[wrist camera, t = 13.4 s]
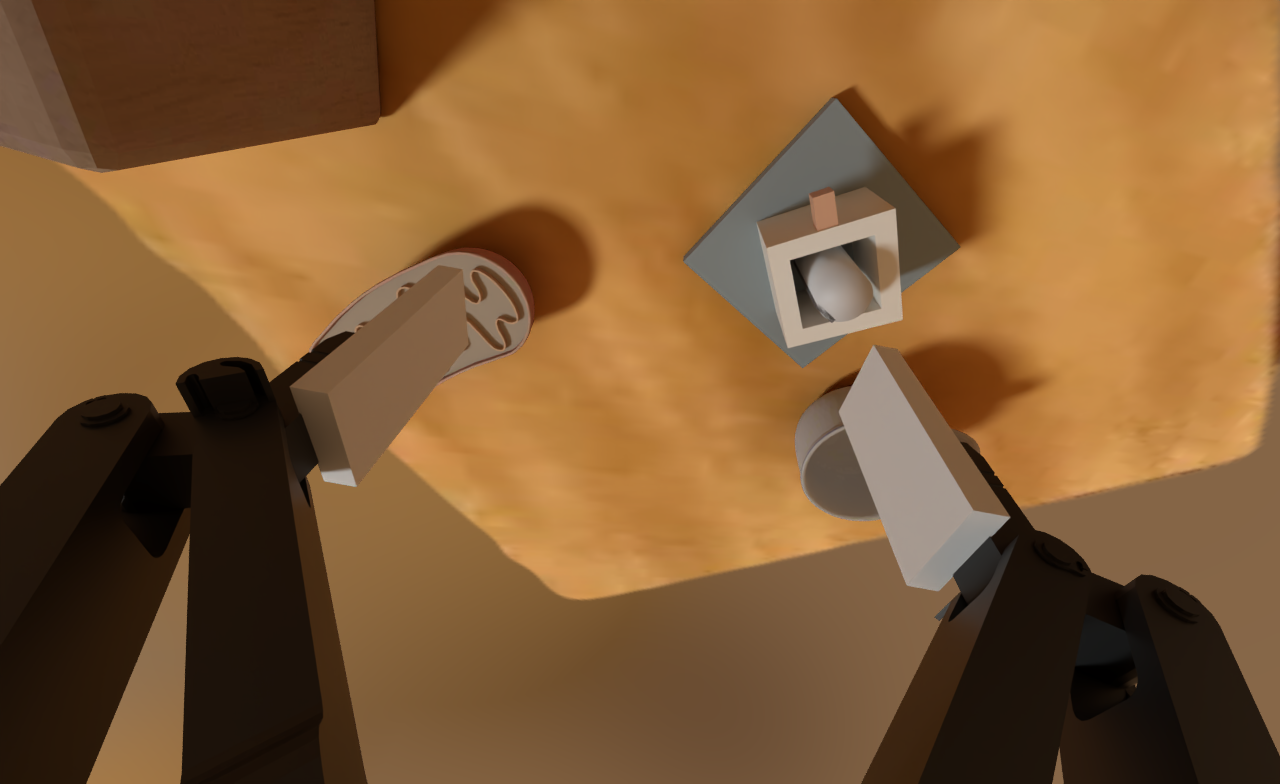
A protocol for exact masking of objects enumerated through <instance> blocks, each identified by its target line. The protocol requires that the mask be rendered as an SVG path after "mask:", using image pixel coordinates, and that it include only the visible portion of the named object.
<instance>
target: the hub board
mask: <svg viewBox="0 0 1280 784" xmlns="http://www.w3.org/2000/svg"><path fill="white" fill-rule="evenodd" d="M827 187H830V188H831V189H832V190H834V194H835V196H838V195H841V194H844V193H847V192H850V191H853V190H857V189H860V188H863V187H866V188H868V189H869V190H870V191H872V192H873V193H875V194H876V195H878V196H879V197H880V198H882V199H883V200H885V201H886V202H887V203H889V204H890V205H892V206H893V207H894V208H896V221H897V237H898V253H899V269H900V285H901V293H902V292H903V291H904V290H905V289H907V288H908V287H909V286H911V285H912V284H913V283H915V282H916V281H917V280H918V279H920V278H921V277H922V276H924V275H925V274H926V273H928V272H929V271H930V270H932V269H933V268H934V267H935V266H937V265H938V264H939V263H941V262H942V261H943V260H945V259H946V258H947V257H949V256H950V255H951V254H952V253H954V252H955V251H956V250H958V249H959V248H960V246H959V244H958V243H957V242H956V241H955V240H954V238H953V237H952V236H951V235H950V234H949V232H948V231H947V230H946V229H945V228H944V226H943V225H942V224H941V223H940V222H939V220H938V219H937V218H936V217H935V216H934V214H933V213H932V212H931V211H930V210H929V208H928V207H927V206H926V205H925V204H924V202H923V201H922V200H921V199H920V198H919V197H918V195H917V194H916V193H915V192H914V191H913V189H912V188H911V187H910V186H909V185H908V183H907V182H906V181H905V180H904V179H903V177H902V176H901V175H900V174H899V173H898V171H897V170H896V169H895V168H894V167H893V165H892V164H891V163H890V162H889V161H888V159H887V158H886V157H885V156H884V155H883V153H882V152H881V151H880V150H879V149H878V147H877V146H876V145H875V144H874V143H873V141H872V140H871V139H870V138H869V137H868V135H867V134H866V133H865V132H864V131H863V129H862V128H861V127H860V126H859V125H858V124H857V122H856V121H855V120H854V119H853V118H852V116H851V115H850V114H849V113H848V112H847V110H846V109H845V108H844V107H843V106H842V104H841V103H840V102H839V101H838V100H837V98H833V97H832V98H831V99H830V100H829V101H828V102H827V103H826V104H825V105H824V106H823V108H822V109H821V110H820V111H819V112H818V113H817V114H816V115H815V116H814V117H813V118H812V119H811V120H810V122H809V123H808V124H807V125H806V126H805V127H804V128H803V129H802V130H801V131H800V132H799V133H798V134H797V135H796V137H795V138H794V139H793V140H792V141H791V142H790V143H789V144H788V145H787V146H786V147H785V148H784V149H783V151H782V152H781V153H780V154H779V155H778V156H777V157H776V158H775V159H774V160H773V161H772V162H771V163H770V164H769V166H768V167H767V168H766V169H765V170H764V171H763V172H762V173H761V174H760V175H759V176H758V177H757V178H756V180H755V181H754V182H753V183H752V184H751V185H750V186H749V187H748V188H747V189H746V190H745V191H744V192H743V193H742V195H741V196H740V197H739V198H738V199H737V200H736V201H735V202H734V203H733V204H732V205H731V206H730V207H729V209H728V210H727V211H726V212H725V213H724V214H723V215H722V216H721V217H720V218H719V219H718V220H717V221H716V222H715V224H714V225H713V226H712V227H711V228H710V229H709V230H708V231H707V232H706V233H705V234H704V235H703V236H702V238H701V239H700V240H699V241H698V242H697V243H696V244H695V245H694V246H693V247H692V248H691V249H690V250H689V251H688V253H687V254H686V255H685V256H684V260H683V262H684V263H685V264H687V265H688V266H689V267H690V268H691V269H692V270H693V271H694V272H695V273H697V274H698V275H699V276H700V277H701V278H702V279H703V280H704V281H706V282H707V283H708V284H709V285H710V286H711V287H712V288H713V289H715V290H716V291H717V292H718V293H719V294H720V295H721V296H722V297H724V298H725V299H726V300H727V301H728V302H729V303H730V304H731V305H733V306H734V307H735V308H736V309H737V310H738V311H739V312H740V313H741V314H743V315H744V316H745V317H746V318H747V319H748V320H749V321H750V322H752V323H753V324H754V325H755V326H756V327H757V328H758V329H759V330H761V331H762V332H763V333H764V334H765V335H766V336H767V337H768V338H770V339H771V340H772V341H773V342H774V343H775V344H776V345H777V346H778V347H780V348H781V349H782V350H783V351H784V352H785V353H786V354H787V355H789V356H790V357H791V358H792V359H793V360H794V361H795V362H796V363H798V364H799V365H800V366H801V367H802V368H804V367H805V366H806V365H807V364H809V363H810V362H811V361H813V360H814V359H815V358H817V357H818V356H819V355H821V354H822V353H823V352H824V351H826V350H827V349H828V348H830V347H831V346H832V345H834V344H835V343H836V342H838V341H839V340H840V339H841V338H843V337H844V336H845V335H847V334H844V335H839V336H835V337H831V338H827V339H823V340H819V341H815V342H811V343H807V344H803V345H799V346H795V347H791V348H788V347H787V344H786V341H785V338H784V335H783V332H782V329H781V326H780V323H779V319H778V316H777V313H776V309H775V305H774V300H773V296H772V291H771V287H770V282H769V277H768V273H767V268H766V264H765V259H764V255H763V250H762V245H761V241H760V236H759V232H758V227H757V223H756V222H758V221H761V220H764V219H767V218H770V217H773V216H776V215H780V214H783V213H786V212H789V211H792V210H795V209H798V208H801V207H804V206H807V205H810V199H809V193H812V192H815V191H818V190H821V189H824V188H827ZM790 265H791V270H792V275H793V280H794V286H795V291H796V292H798V291H802V290H805V289H806V290H807V292H808V294H809V296H810V298H811V300H812V302H813V304H814V306H815V308H816V309H817V310H819V312H820V313H821V314H822V315H823V316H824V317H825V318H826V319H828V320H829V321H830V322H831V323H833V322H845V321H849V320H852V319H855V318H856V317H858V316H860V315H861V314H862V313H863V312H864V311H865V310H866V309H867V308H868V307H869V305H870V303H871V301H872V298H873V287H872V284H871V283H870V281H869V280H868V279H867V277H866V276H865V275H864V274H863V272H862V271H861V270H860V269H859V267H858V266H857V265H856V264H855V262H854V253H853V244H852V242H850V243H846V244H843V245H840V246H836V247H833V248H830V249H826V250H823V251H819V252H816V253H813V254H809V255H806V256H803V257H799V258H796V259H792V260H790Z"/></svg>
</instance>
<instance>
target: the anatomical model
mask: <svg viewBox="0 0 1280 784" xmlns="http://www.w3.org/2000/svg"><path fill="white" fill-rule="evenodd" d="M438 265H442V266H447V267H453V268H458V269H463V280H464V293H465V305H466V318H467V331H468V343H469V345H468V346H467V347H466V348H465V350H464V351H463V352H462V353H461V355H460V356H459V357H458V359H457V360H456V361H455V362H454V364H453V365H452V366H451V367H450V369H449V370H448V371H447V373H446V374H445V375H444V376H443V378H442V379H441V380H440V381H439V383H438V384H437V385H439V384H441V383H442V382H444V381H446V380H448V379H450V378H452V377H454V376H456V375H458V374H460V373H462V372H465V371H467V370H469V369H472V368H474V367H477V366H480V365H483V364H485V363H488V362H491V361H494V360H497V359H500V358H503V357H506V356H509V355H511V354H513V353H515V352H516V351H517V350H518V349H519V348H520V347H522V346H523V344H524V343H525V341H526V340H527V338H528V336H529V333H530V330H531V327H532V325H533V321H534V309H535V307H534V299H533V295H532V291H531V289H530V286H529V284H528V282H527V280H526V279H525V277H524V276H523V274H522V273H521V272H520V270H519V269H518V268H517V267H516V266H515V265H514V264H513V263H511V262H510V261H509V260H507V259H506V258H504V257H503V256H501V255H499V254H497V253H494V252H492V251H489V250H486V249H481V248H459V249H455V250H450V251H447V252H444V253H441V254H438V255H436V256H434V257H432V258H429V259H427V260H425V261H422V262H420V263H418V264H415V265H413V266H411V267H409V268H406V269H404V270H402V271H400V272H398V273H396V274H394V275H393V276H391V277H389V278H387V279H385V280H383V281H381V282H380V283H378V284H376V285H375V286H373V287H372V288H370V289H369V290H367V291H366V292H364V293H363V294H362V295H360V296H359V297H358V298H357V299H355V300H354V301H353V302H352V303H350V304H349V305H348V306H347V307H346V308H345V309H344V310H343V311H342V312H341V313H340V314H339V315H338V316H337V317H336V318H335V319H334V320H333V321H332V322H331V323H330V324H329V325H328V327H327V328H326V329H325V330H324V331H323V332H322V333H321V334H320V336H319V337H318V338H317V339H316V340H315V341H314V342H313V344H312V346H311V348H310V349H309V352H310V353H311V350H312V349H313V348H315V347H316V346H317V345H319V344H320V343H321V342H323V341H324V340H325V339H327V338H330V337H332V336H335V335H337V334H340V333H342V332H345V331H349V332H354V333H356V332H357V331H358V330H360V329H361V328H362V327H363V326H364V325H366V324H367V323H368V322H369V321H371V320H372V319H373V318H374V317H375V316H377V315H378V314H379V313H380V312H382V311H383V310H384V309H385V308H386V307H388V306H389V305H390V304H391V303H393V302H394V301H395V300H396V299H397V298H399V297H400V296H401V295H402V294H404V293H405V292H406V291H407V290H408V289H410V288H411V287H412V286H413V285H415V284H416V283H417V282H418V281H419V280H421V279H422V278H423V277H424V276H426V275H427V274H428V273H429V272H430V271H432V270H433V269H434V268H435V267H437V266H438ZM437 385H436V386H437Z"/></svg>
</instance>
